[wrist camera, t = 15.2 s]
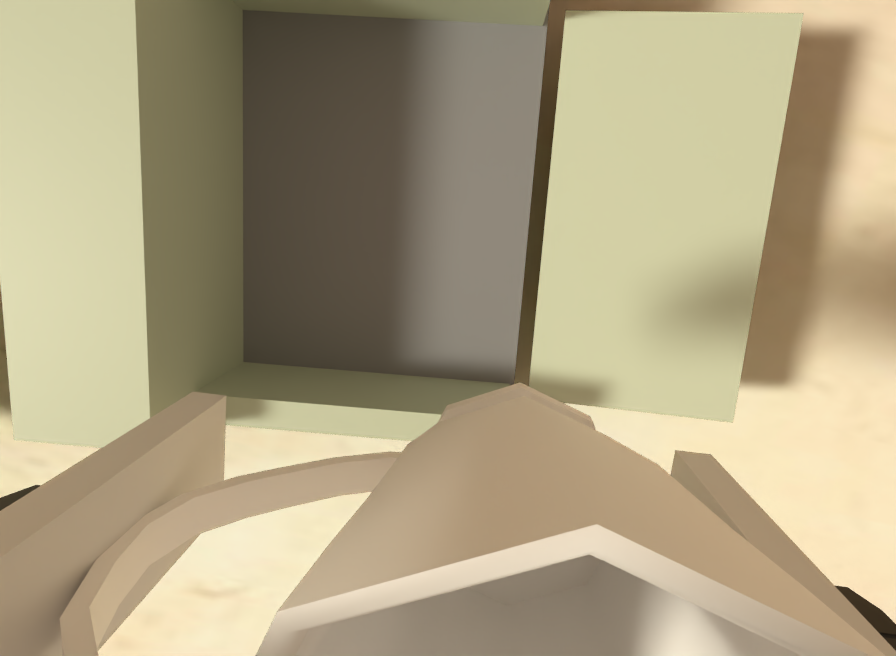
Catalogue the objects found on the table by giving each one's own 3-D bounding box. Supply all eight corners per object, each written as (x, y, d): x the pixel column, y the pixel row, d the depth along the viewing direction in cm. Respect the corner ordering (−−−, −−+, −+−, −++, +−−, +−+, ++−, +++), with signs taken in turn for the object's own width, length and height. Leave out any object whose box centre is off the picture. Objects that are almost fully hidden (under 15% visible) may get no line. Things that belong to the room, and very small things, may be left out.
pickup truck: (164, -36, 28) (-41, -197, 17) (546, -17, 27) (588, -173, 16) (175, 388, 32) (16, 479, 21) (506, 416, 31) (518, 525, 20)
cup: (651, 629, 13) (884, 1220, 6) (230, 589, 14) (-100, 1082, 6) (695, 334, 12) (1092, 571, 4) (224, 302, 13) (-215, 459, 5)
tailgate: (565, 10, 24) (803, 13, 22) (564, 20, 25) (790, 23, 23) (527, 398, 27) (732, 422, 26) (528, 390, 28) (724, 413, 27)
